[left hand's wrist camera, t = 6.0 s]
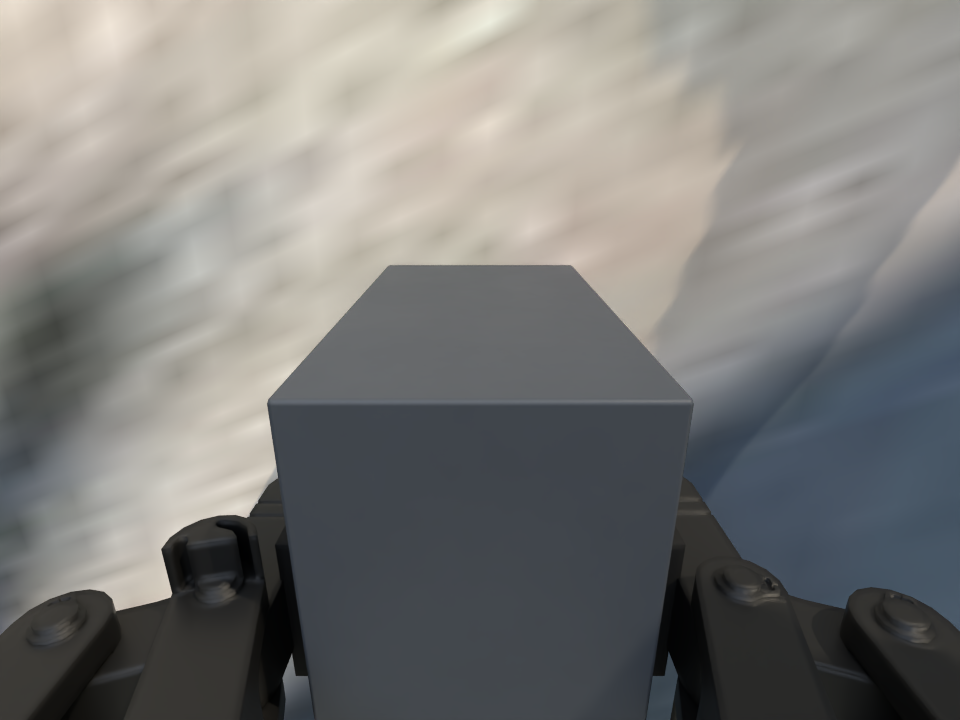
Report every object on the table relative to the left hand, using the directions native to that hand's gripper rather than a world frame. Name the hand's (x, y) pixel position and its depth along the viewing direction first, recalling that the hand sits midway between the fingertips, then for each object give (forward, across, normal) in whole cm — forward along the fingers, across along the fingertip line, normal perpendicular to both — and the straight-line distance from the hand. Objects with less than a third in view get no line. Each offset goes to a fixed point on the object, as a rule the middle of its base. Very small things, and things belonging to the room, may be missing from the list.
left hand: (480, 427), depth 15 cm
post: (+1, 0, -27) cm, 27 cm away
